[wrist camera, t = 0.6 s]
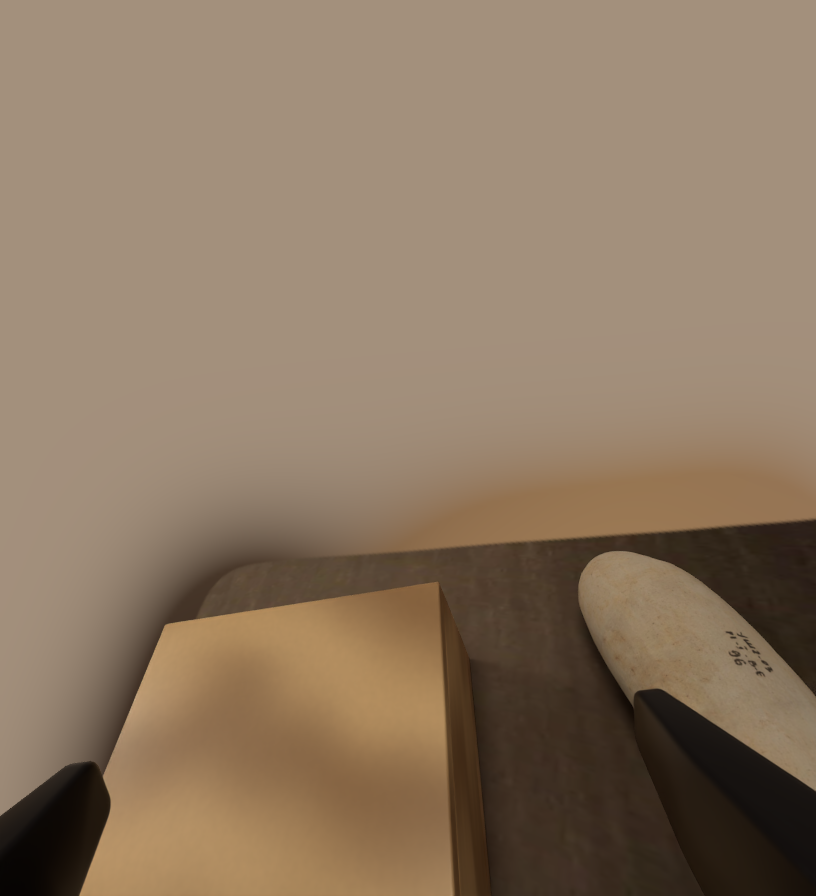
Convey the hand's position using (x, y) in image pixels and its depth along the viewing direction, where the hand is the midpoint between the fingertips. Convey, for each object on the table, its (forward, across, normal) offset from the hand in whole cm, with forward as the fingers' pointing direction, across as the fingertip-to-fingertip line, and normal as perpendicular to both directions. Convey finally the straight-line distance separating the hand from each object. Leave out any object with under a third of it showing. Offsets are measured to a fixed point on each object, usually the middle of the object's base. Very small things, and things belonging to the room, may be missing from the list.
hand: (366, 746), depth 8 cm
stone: (+10, -11, +10) cm, 18 cm away
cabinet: (+9, +4, +13) cm, 16 cm away
